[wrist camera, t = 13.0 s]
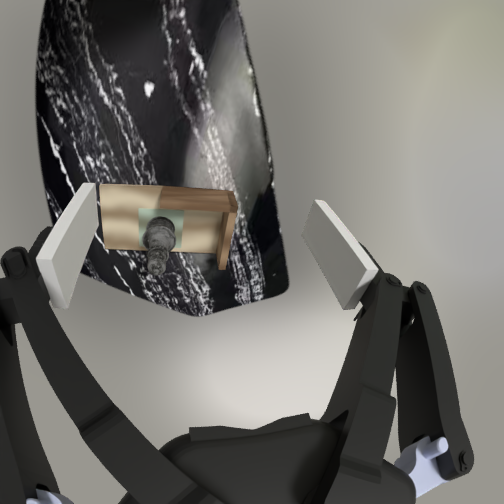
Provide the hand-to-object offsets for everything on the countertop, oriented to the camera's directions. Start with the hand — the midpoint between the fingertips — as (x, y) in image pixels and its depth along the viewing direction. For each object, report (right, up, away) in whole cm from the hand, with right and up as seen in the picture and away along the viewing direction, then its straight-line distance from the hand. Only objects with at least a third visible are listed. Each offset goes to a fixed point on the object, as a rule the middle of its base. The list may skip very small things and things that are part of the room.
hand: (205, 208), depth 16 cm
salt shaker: (-14, +2, +32) cm, 35 cm away
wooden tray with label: (-13, +3, +32) cm, 34 cm away
